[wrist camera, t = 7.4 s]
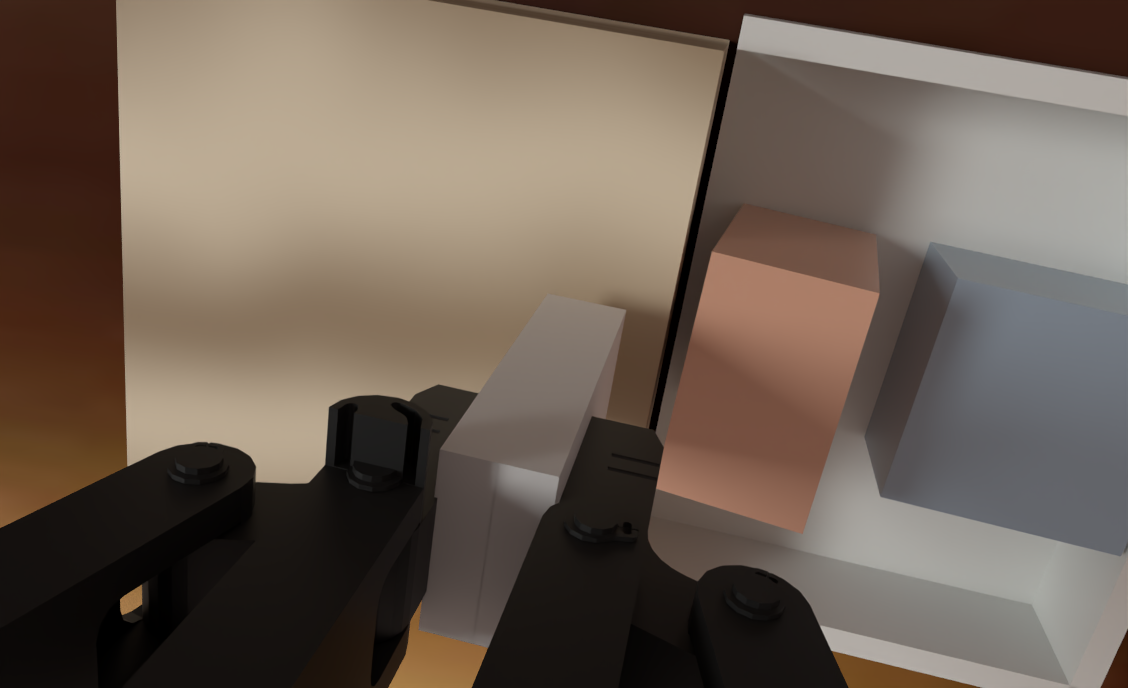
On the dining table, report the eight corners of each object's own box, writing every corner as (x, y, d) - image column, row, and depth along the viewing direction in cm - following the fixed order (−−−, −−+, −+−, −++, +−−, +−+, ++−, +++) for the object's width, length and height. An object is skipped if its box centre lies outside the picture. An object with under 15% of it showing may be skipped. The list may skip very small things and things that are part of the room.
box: (745, 13, 20) (744, 15, 17) (1261, 99, 19) (1364, 119, 16) (636, 522, 25) (619, 598, 22) (1042, 617, 24) (1088, 713, 21)
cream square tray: (247, -42, 22) (114, -54, 17) (730, 40, 21) (724, 50, 16) (236, 410, 26) (128, 496, 22) (632, 501, 25) (607, 614, 20)
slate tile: (1226, 337, 18) (1161, 291, 20) (957, 278, 18) (930, 241, 21) (1121, 556, 19) (1074, 487, 22) (880, 496, 20) (864, 436, 23)
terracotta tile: (712, 251, 17) (879, 293, 16) (743, 203, 21) (876, 234, 21) (653, 488, 19) (802, 533, 18) (694, 397, 23) (814, 431, 23)
